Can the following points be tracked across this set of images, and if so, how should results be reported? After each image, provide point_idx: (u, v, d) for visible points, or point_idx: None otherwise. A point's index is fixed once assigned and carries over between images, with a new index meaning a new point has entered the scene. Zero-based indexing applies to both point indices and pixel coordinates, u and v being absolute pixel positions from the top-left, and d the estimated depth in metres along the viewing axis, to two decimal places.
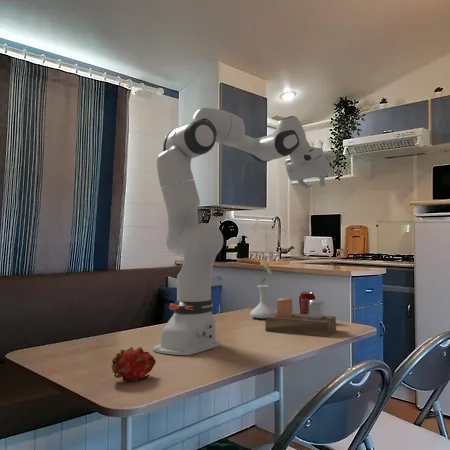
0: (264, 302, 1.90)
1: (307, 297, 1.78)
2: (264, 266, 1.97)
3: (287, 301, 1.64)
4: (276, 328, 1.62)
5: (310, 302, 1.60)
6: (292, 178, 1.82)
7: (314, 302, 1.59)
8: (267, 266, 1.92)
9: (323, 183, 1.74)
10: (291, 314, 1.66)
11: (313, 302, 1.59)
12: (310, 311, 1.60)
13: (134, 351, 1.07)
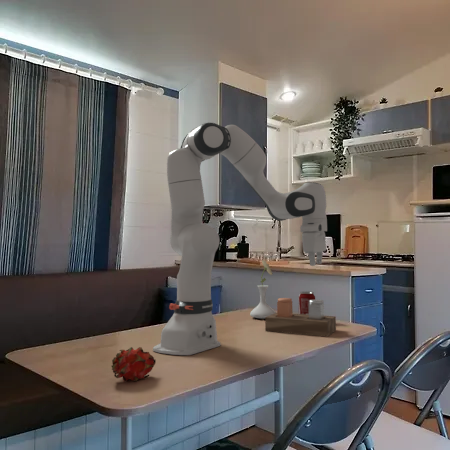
0: (264, 302, 1.90)
1: (307, 297, 1.78)
2: (264, 266, 1.97)
3: (287, 301, 1.64)
4: (276, 328, 1.62)
5: (310, 302, 1.60)
6: None
7: (314, 302, 1.59)
8: (267, 266, 1.92)
9: (312, 262, 1.58)
10: (291, 314, 1.66)
11: (313, 302, 1.59)
12: (310, 311, 1.60)
13: (134, 351, 1.07)
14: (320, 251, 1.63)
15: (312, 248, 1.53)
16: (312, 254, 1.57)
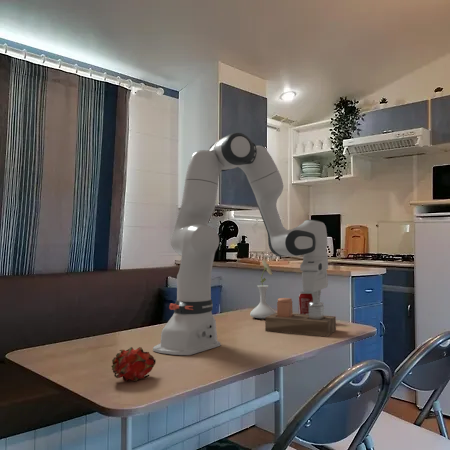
0: (264, 302, 1.90)
1: (307, 297, 1.78)
2: (264, 266, 1.97)
3: (287, 301, 1.64)
4: (276, 328, 1.62)
5: (310, 304, 1.60)
6: None
7: (314, 304, 1.59)
8: (267, 266, 1.92)
9: (315, 300, 1.60)
10: (291, 314, 1.66)
11: (313, 304, 1.59)
12: (310, 313, 1.60)
13: (134, 351, 1.07)
14: None
15: (311, 288, 1.52)
16: (315, 292, 1.59)
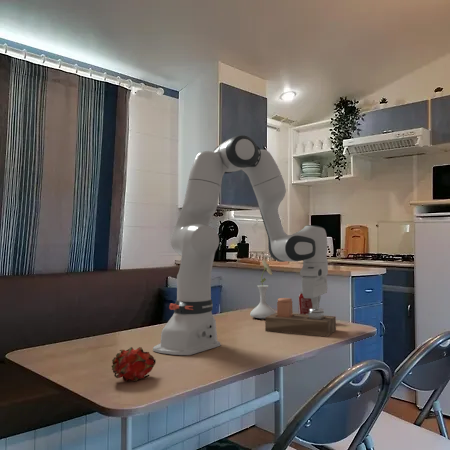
0: (264, 302, 1.90)
1: None
2: (264, 266, 1.97)
3: (287, 301, 1.64)
4: (276, 328, 1.62)
5: (310, 311, 1.60)
6: None
7: (314, 311, 1.59)
8: (267, 266, 1.92)
9: (314, 306, 1.60)
10: (291, 314, 1.66)
11: (313, 311, 1.59)
12: None
13: (134, 351, 1.07)
14: (320, 295, 1.61)
15: (311, 294, 1.52)
16: (315, 297, 1.59)
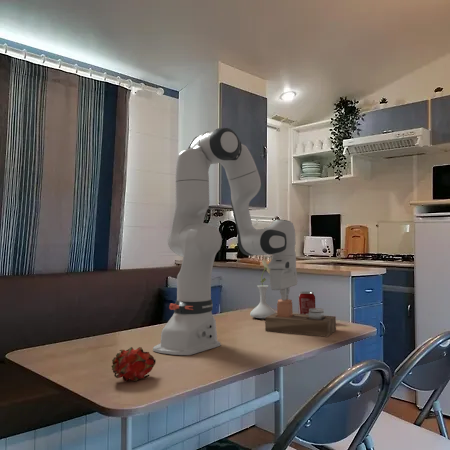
0: (264, 302, 1.90)
1: (307, 297, 1.78)
2: (264, 266, 1.97)
3: (287, 302, 1.64)
4: (276, 328, 1.62)
5: (310, 311, 1.60)
6: None
7: (314, 311, 1.59)
8: (267, 266, 1.92)
9: (283, 297, 1.66)
10: (291, 316, 1.66)
11: (313, 311, 1.59)
12: None
13: (134, 351, 1.07)
14: (289, 287, 1.67)
15: (278, 285, 1.58)
16: (283, 289, 1.65)
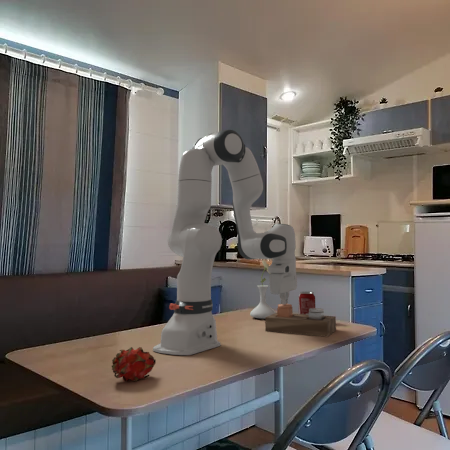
0: (264, 302, 1.90)
1: (307, 297, 1.78)
2: (264, 266, 1.97)
3: (287, 307, 1.64)
4: (276, 328, 1.62)
5: (310, 311, 1.60)
6: None
7: (314, 311, 1.59)
8: (267, 266, 1.92)
9: (283, 301, 1.66)
10: None
11: (313, 311, 1.59)
12: None
13: (134, 351, 1.07)
14: None
15: (278, 290, 1.58)
16: (283, 293, 1.65)
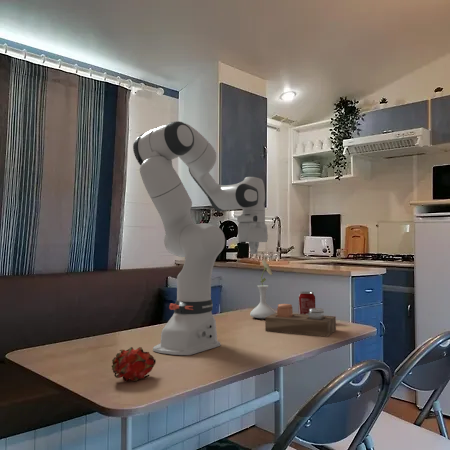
0: (264, 302, 1.90)
1: (307, 297, 1.78)
2: (264, 266, 1.97)
3: (287, 307, 1.64)
4: (276, 328, 1.62)
5: (310, 311, 1.60)
6: None
7: (314, 311, 1.59)
8: (267, 266, 1.92)
9: (252, 251, 1.73)
10: None
11: (313, 311, 1.59)
12: None
13: (134, 351, 1.07)
14: (258, 241, 1.74)
15: (246, 237, 1.65)
16: (252, 243, 1.72)
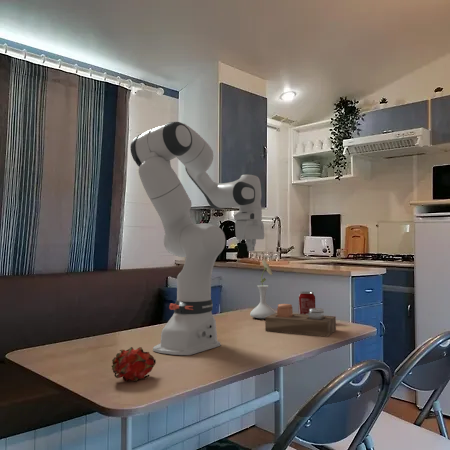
0: (264, 302, 1.90)
1: (307, 297, 1.78)
2: (264, 266, 1.97)
3: (287, 307, 1.64)
4: (276, 328, 1.62)
5: (310, 311, 1.60)
6: None
7: (314, 311, 1.59)
8: (267, 266, 1.92)
9: (249, 248, 1.74)
10: None
11: (313, 311, 1.59)
12: None
13: (134, 351, 1.07)
14: (255, 239, 1.75)
15: (243, 235, 1.66)
16: (249, 240, 1.73)
